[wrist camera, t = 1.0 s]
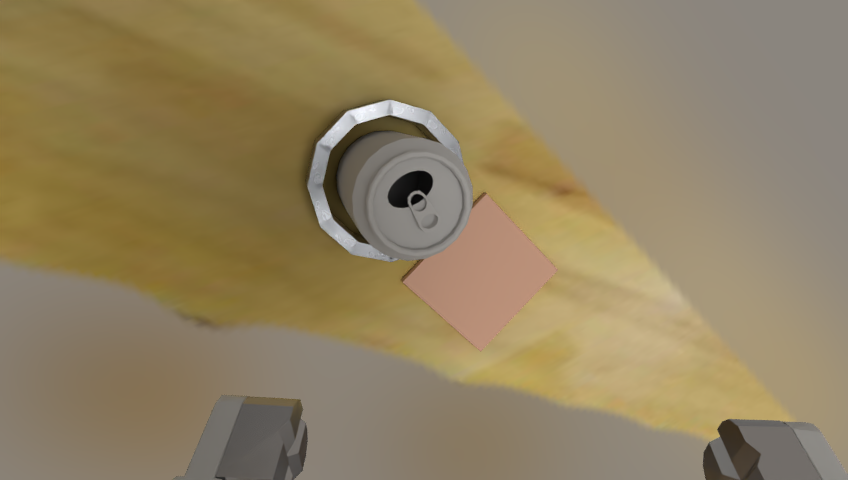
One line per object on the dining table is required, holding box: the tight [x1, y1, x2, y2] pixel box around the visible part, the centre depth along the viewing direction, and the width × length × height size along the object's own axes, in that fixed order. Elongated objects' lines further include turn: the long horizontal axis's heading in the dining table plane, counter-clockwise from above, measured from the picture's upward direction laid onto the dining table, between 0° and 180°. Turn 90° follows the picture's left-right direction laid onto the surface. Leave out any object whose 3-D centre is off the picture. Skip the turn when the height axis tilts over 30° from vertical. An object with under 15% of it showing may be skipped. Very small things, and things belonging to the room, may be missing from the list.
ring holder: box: [305, 100, 464, 262], centre depth 39 cm, size 12×12×3 cm
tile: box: [402, 193, 558, 351], centre depth 45 cm, size 10×10×1 cm
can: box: [336, 131, 473, 261], centre depth 35 cm, size 8×8×12 cm
